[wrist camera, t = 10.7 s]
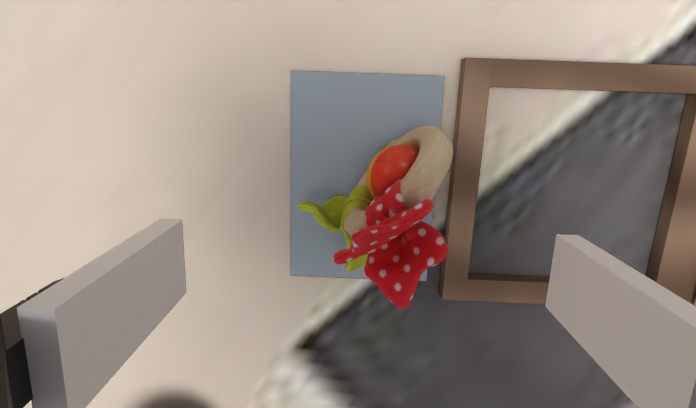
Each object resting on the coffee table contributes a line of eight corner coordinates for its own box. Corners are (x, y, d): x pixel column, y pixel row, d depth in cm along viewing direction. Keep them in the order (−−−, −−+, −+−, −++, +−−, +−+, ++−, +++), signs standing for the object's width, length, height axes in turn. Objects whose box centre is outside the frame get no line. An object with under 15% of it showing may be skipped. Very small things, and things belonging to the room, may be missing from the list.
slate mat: (425, 278, 29) (426, 281, 28) (291, 273, 29) (290, 275, 29) (443, 76, 26) (444, 75, 25) (291, 70, 26) (290, 70, 25)
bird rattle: (354, 118, 28) (275, 235, 26) (420, 42, 17) (293, 233, 15) (430, 173, 29) (358, 290, 27) (539, 134, 18) (431, 324, 16)
